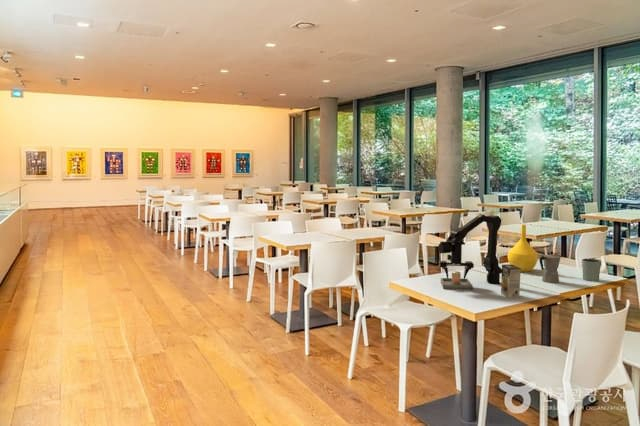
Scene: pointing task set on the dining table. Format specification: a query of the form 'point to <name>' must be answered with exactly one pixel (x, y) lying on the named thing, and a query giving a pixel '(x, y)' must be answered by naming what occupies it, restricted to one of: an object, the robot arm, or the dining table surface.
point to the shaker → (456, 278)
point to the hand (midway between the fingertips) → (455, 279)
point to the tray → (463, 285)
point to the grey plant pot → (591, 269)
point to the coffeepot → (550, 268)
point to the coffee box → (510, 281)
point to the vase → (523, 254)
